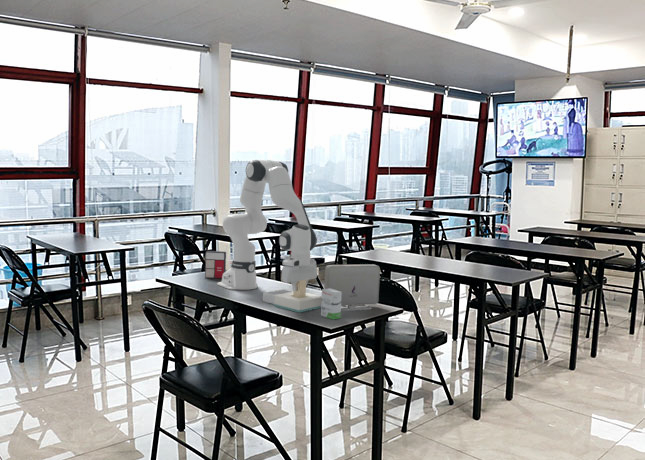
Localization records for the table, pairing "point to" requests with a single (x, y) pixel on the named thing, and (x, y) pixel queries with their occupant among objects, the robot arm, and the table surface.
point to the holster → (273, 295)
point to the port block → (297, 302)
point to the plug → (300, 289)
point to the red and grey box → (215, 264)
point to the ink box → (331, 303)
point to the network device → (354, 284)
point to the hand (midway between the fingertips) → (299, 290)
